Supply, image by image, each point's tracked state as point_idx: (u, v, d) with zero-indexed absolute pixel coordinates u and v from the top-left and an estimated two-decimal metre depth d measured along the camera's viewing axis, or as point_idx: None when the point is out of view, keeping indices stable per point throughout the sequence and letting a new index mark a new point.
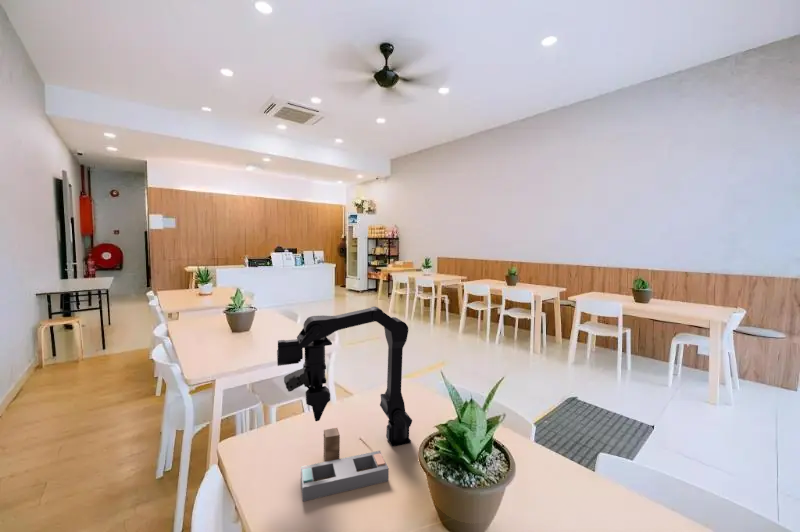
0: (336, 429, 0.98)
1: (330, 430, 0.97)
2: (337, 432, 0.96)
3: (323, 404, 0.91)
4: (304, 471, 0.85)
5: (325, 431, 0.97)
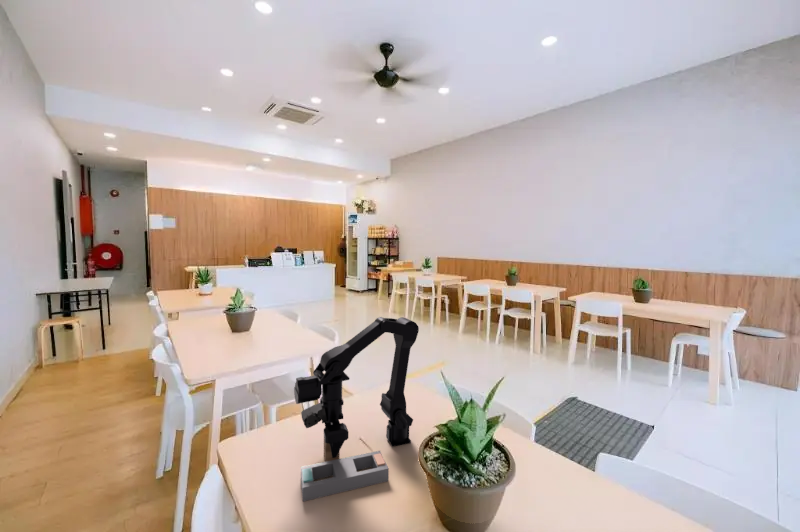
0: None
1: None
2: None
3: (341, 441, 0.91)
4: (304, 471, 0.85)
5: None
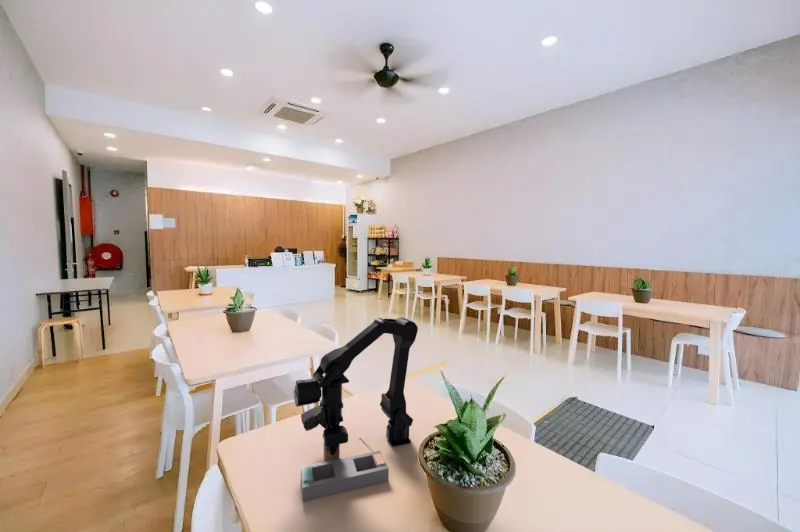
0: None
1: None
2: None
3: None
4: (304, 471, 0.85)
5: None
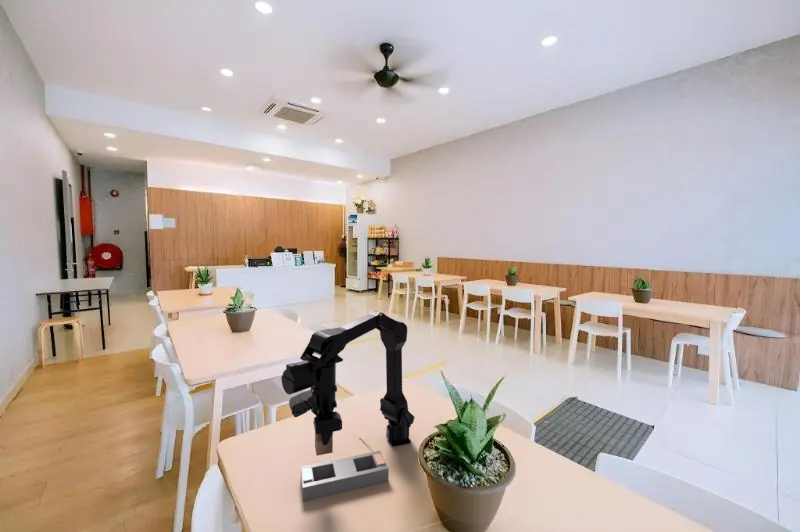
0: None
1: None
2: None
3: None
4: (304, 471, 0.85)
5: None
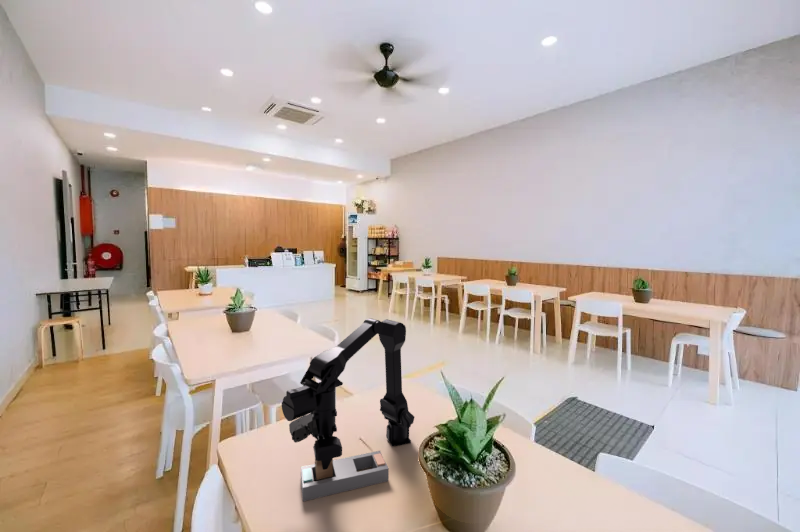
0: None
1: None
2: None
3: None
4: (304, 471, 0.85)
5: None
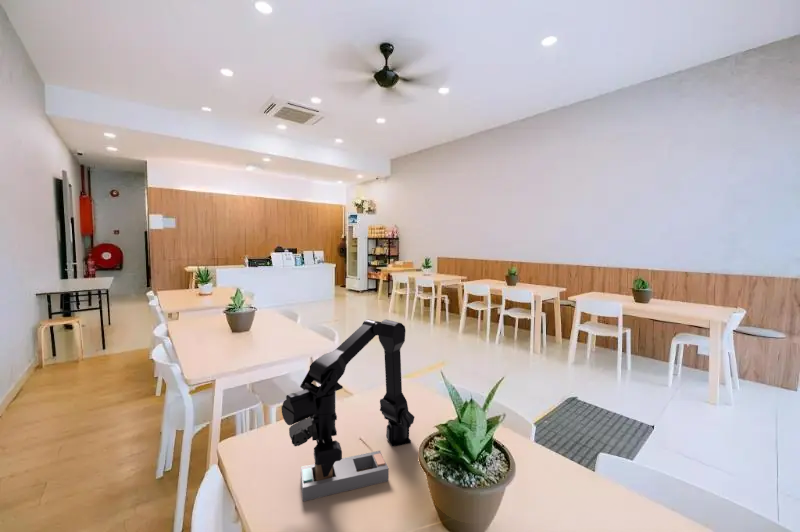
0: None
1: None
2: None
3: None
4: (304, 471, 0.85)
5: None
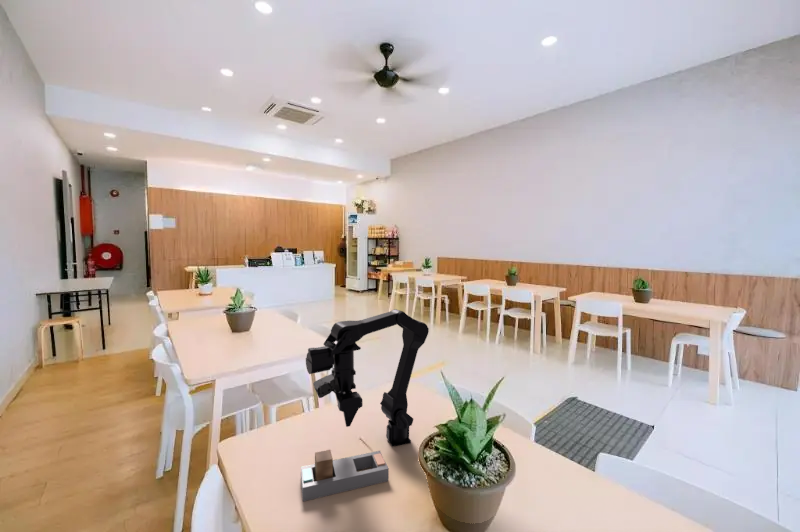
0: (329, 451, 0.87)
1: (322, 453, 0.86)
2: (330, 455, 0.86)
3: (354, 410, 0.91)
4: (304, 471, 0.85)
5: (316, 454, 0.86)
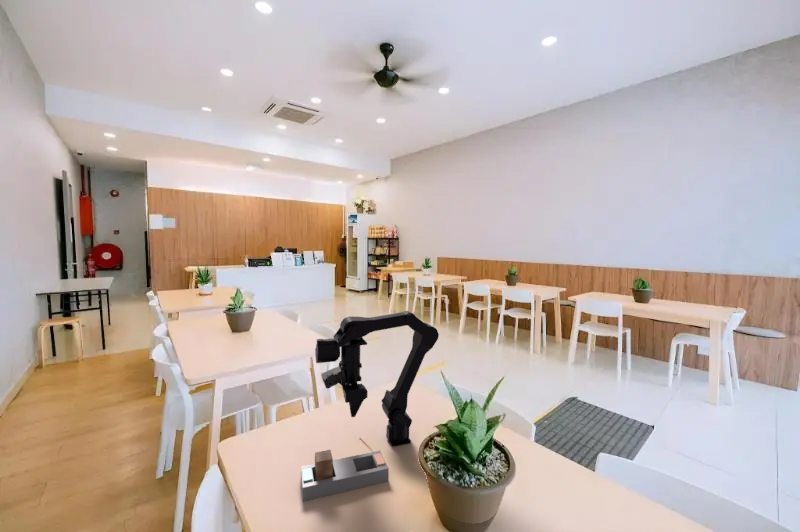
0: (329, 451, 0.87)
1: (322, 453, 0.86)
2: (330, 455, 0.86)
3: (360, 401, 0.95)
4: (304, 471, 0.85)
5: (316, 454, 0.86)
